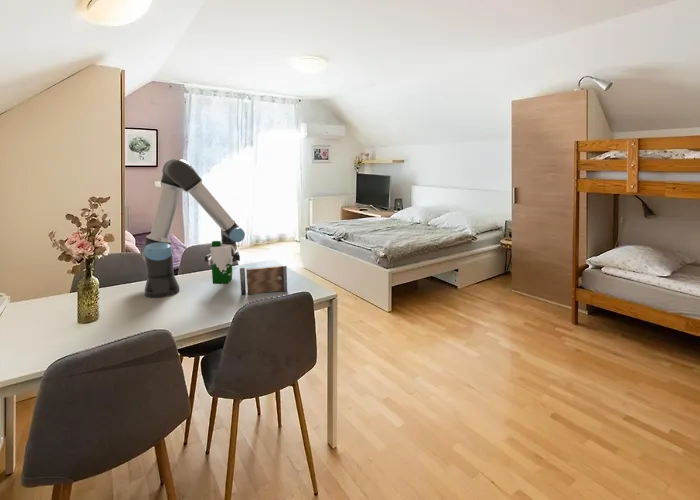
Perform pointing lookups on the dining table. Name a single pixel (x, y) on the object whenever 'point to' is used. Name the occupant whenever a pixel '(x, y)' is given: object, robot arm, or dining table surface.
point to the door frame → (243, 285)
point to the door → (264, 279)
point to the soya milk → (221, 263)
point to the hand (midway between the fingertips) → (220, 262)
